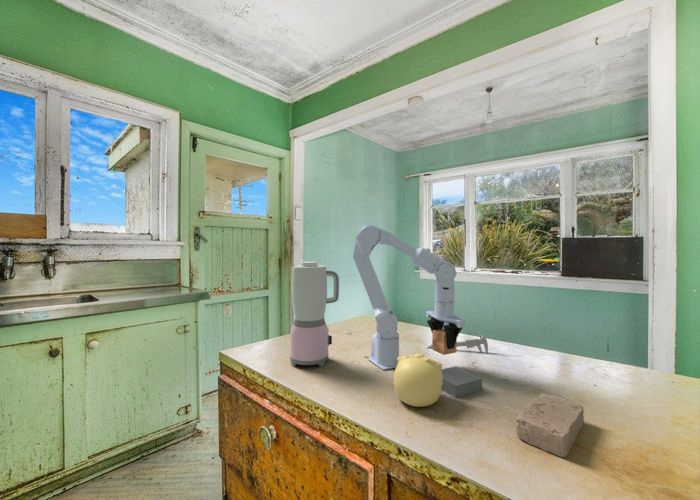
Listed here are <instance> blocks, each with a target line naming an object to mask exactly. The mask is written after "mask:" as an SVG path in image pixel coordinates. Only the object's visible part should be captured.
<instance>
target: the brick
mask: <svg viewBox="0 0 700 500" xmlns="http://www.w3.org/2000/svg"><path fill="white" fill-rule="evenodd" d="M584 414H585V412H584V406H583V405H582V404H580V403H577V402H576V401H575V402H574V401H572V400H569V399H564V398H562V397H560V396H556V395H552V394H547V393H543V392H542V393H541V394H539V395H538V396H536V398H535V399H533V402H531V405H529V406H527V407H526V409H524V410H522V411H521V412H520V413H519V414H518V415H517V416H516V417H515V422H516V423H515V428H516V430H515V431H516V432H515V433H516V436H517V437H518V438H519V439H521V440H522V441H524V442H526V443H527V444H529V445H531V446H533V447H534V446H535V447H537V448H538V449H542V451H545V452H548V453H551V454H552V455H556V456H558V457H561V458H566V457H567V456H568V455H569V453H570V450H569V449H571V450H572V449H573V445H574V443H575V442H576V439H577V436H578V435H579V433H580V431H581V429H583V426H584V423H585V422H584V421H585V419H584V418H585V416H584Z"/></svg>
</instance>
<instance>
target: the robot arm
mask: <svg viewBox="0 0 700 500" xmlns="http://www.w3.org/2000/svg"><path fill="white" fill-rule="evenodd" d="M378 244H379V245H387V246H388V245H389V246H391V247H393V248H394V249H396V250H397V251H399V252H402V253H403V254H405V255H407V256H409V257H411V261H412V264H414V265H415V266H417V267H419V268H420V269H422V270H424V271H426V272H427V273H429V274H433V275H434V276H435V285H434V310H426V311H425V312H426V314H425V317H426V318H430V319H427V321H426V322H427V324H428V326H429V329H430V331H431V332H432V330H439V329H444V330H445V333H446V342H447V349H453V348H454V346H455V342H456V339H457V338H458V337H459V334H460V333H461V331H462V329H463V328H466V327H465V326H466V321H465V320H464V319H462V318H460V317H458V316H457V314H455V290H456V289H455V278H456V277H457V273H458V272H457V270H456V268H455V266H454V265H453V264H452V263H451V262H448V261H447V260H445V257H443V256H441V257H440V256H439V255H436V254H435V253H433V252H432V251H431V249H430V248H428V247H426V248H425V247H419V248H416V247H415V246H413V245H411V244H409V243H408V242H406V241H405V240H403V239H401V238H400V237H398V236H397V235H395V234H394V233H392V232H390V231H387V230H385V229H382V228H381V227H377V226H375V225H374V224H365V225H363V226H362V227H361V228H360V229H359V231H358V233H356V237H355V244H354V247H353V248H354V249H353V252H352V257H353V258H352V259H353V260H354V263H355V266H356V267H357V270H358V273H359V276H360V278H361V281H362V283H363V286H364V289H365V292H366V295H367V296H368V299H369V301H370V303H371V306H372V308H373V314H374V318H375V321H376V326H375V327H376V328H375V329H376V332H375V333H373V335H371V339H370V357H369V358H368V361H369V362H371V363H372V364H374V365H376V367H377V368H378V367H379V368H380V369H381V370H382V371H386V370H390V369H394V368H395V369H396V367H397V365H398V361H397V358H398V357H400V333H399V332H398V323H399V319H398V317H397V315H396V313H394V312H393V310H392V309H391V306H390V305H389V303H388V301H387V299H386V296H385V294H384V291H383V288H382V286H381V284H380V280H379V279H378V276H377V274H376V271H375V269H374V265H373V264H372V261H371V258H370V257H371V254H372V252H373V251H374V248H375V247H376V246H377V245H378ZM445 323H446V324H445Z"/></svg>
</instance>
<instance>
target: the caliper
mask: <svg viewBox="0 0 700 500" xmlns="http://www.w3.org/2000/svg"><path fill="white" fill-rule="evenodd" d="M478 336H479V338H469V339H465V340H464V341H462V340H461V341H457V347H456V348H458V347H466V348H467V349H470V348H471V349H472V348H474V347H477V349H478V351H479V353H481V354H482V353H483V350H482V347H481V345H483V347H484V350H485V353H486V354H488V352H489V344H488V341H487V337H484V335H478ZM426 348H427V349H431V350H432V344H430V345H428V346H426Z"/></svg>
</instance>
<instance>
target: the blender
mask: <svg viewBox="0 0 700 500" xmlns="http://www.w3.org/2000/svg"><path fill="white" fill-rule="evenodd" d="M289 269H290V270H291V282H290V283H291V292H290V293H291V294H290V295H291V303H292V310H293V316H294V321H293V324H292V326H291V329H290V333H289V334H290V335H289V338H290V356H289V360H290V363H291V364H290V365H291V366H292V367H294V368H295V367H297V365H301V366H315V365H318V367H319V368H321V367H324V366H325V365H326V364H325V363H326V361H327V360H328V359H329V346H330V345H332V343H333V341H332V339H333V336H332V335H330V334H329V331H330V329H329V327H328V325H327V323H326V320H325V314H326V313H325V312H326V308H327V304H331V303H332V304H333V303H336V302H337V301H338V300H339V294H340V279H339V275H338V274H337V272H335V271H333V270H332V271H331V270H327V267H326V265H320V264H319V265H318V261H302V262H301V263H300V265H294V266H290V267H289ZM328 277H331V278H333V296H332V297H328Z"/></svg>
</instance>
